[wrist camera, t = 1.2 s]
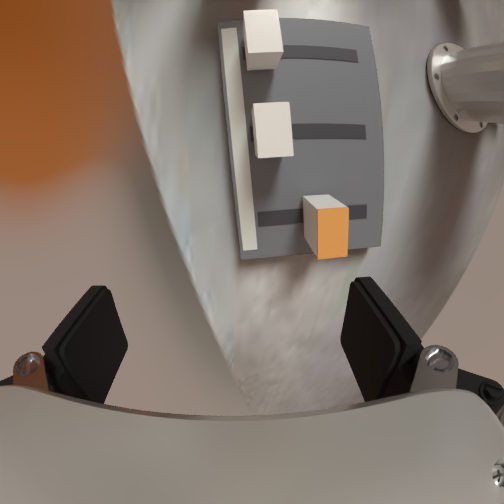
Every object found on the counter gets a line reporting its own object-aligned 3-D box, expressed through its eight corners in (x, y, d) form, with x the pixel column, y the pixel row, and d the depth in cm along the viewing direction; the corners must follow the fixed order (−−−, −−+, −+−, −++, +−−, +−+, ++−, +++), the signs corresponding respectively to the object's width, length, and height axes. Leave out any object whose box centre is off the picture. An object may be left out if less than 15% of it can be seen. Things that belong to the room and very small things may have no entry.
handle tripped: (328, 194, 24) (348, 207, 19) (328, 234, 26) (347, 256, 21) (302, 195, 24) (317, 209, 19) (304, 236, 26) (317, 259, 21)
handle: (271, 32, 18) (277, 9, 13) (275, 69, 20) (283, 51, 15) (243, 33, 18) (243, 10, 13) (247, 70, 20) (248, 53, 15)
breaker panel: (359, 33, 20) (369, 26, 18) (371, 238, 29) (381, 246, 27) (219, 31, 20) (217, 21, 18) (241, 250, 29) (241, 260, 27)
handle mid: (279, 110, 21) (289, 101, 17) (283, 153, 23) (293, 156, 18) (251, 111, 21) (253, 103, 17) (255, 155, 23) (258, 158, 18)
